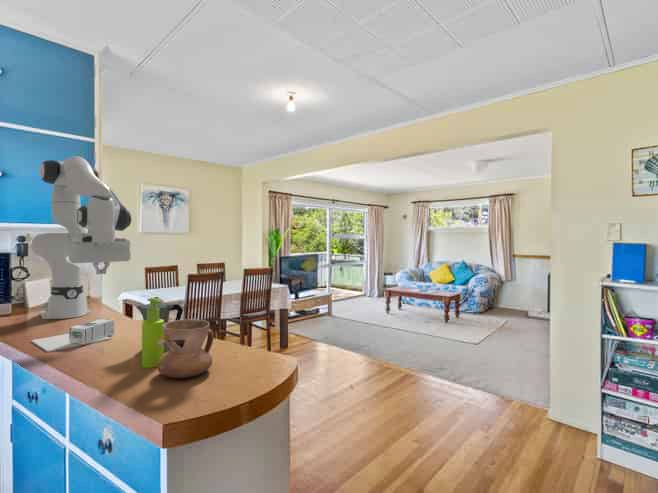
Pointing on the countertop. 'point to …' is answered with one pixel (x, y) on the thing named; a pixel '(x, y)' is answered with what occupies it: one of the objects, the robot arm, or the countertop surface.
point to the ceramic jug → (185, 348)
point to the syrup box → (91, 331)
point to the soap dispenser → (152, 336)
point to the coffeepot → (162, 313)
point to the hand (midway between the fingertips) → (101, 273)
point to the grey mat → (60, 342)
